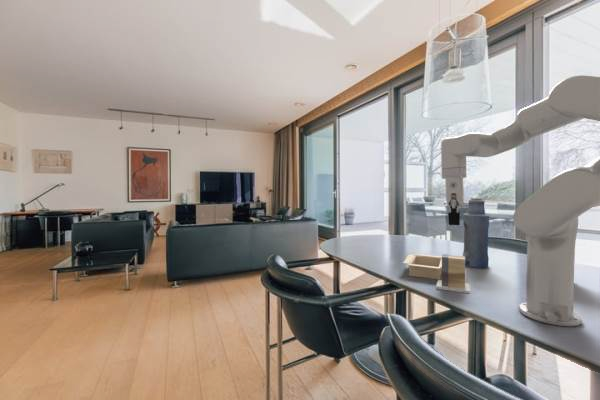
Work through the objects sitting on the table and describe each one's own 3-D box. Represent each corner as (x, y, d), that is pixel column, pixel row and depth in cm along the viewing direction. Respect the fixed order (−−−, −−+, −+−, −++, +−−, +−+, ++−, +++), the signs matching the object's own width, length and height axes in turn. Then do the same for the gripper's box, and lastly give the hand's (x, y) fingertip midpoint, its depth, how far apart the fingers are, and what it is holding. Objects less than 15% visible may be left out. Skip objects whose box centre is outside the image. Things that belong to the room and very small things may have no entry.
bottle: (460, 262, 131) (460, 197, 130) (484, 263, 128) (484, 197, 127) (466, 267, 122) (466, 198, 121) (492, 269, 119) (493, 198, 118)
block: (464, 288, 95) (465, 259, 94) (441, 285, 98) (441, 256, 98) (464, 284, 99) (465, 256, 98) (442, 281, 102) (442, 254, 102)
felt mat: (469, 293, 93) (469, 291, 93) (436, 288, 98) (436, 286, 98) (469, 285, 100) (469, 283, 100) (437, 281, 105) (437, 279, 105)
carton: (447, 282, 104) (447, 269, 104) (401, 276, 112) (401, 264, 112) (449, 268, 121) (449, 257, 121) (409, 263, 129) (409, 253, 129)
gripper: (466, 172, 88) (467, 226, 88) (466, 174, 103) (466, 221, 103) (439, 173, 91) (440, 225, 92) (442, 175, 106) (443, 220, 107)
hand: (454, 223), depth 97 cm, fingers open, 9 cm apart
